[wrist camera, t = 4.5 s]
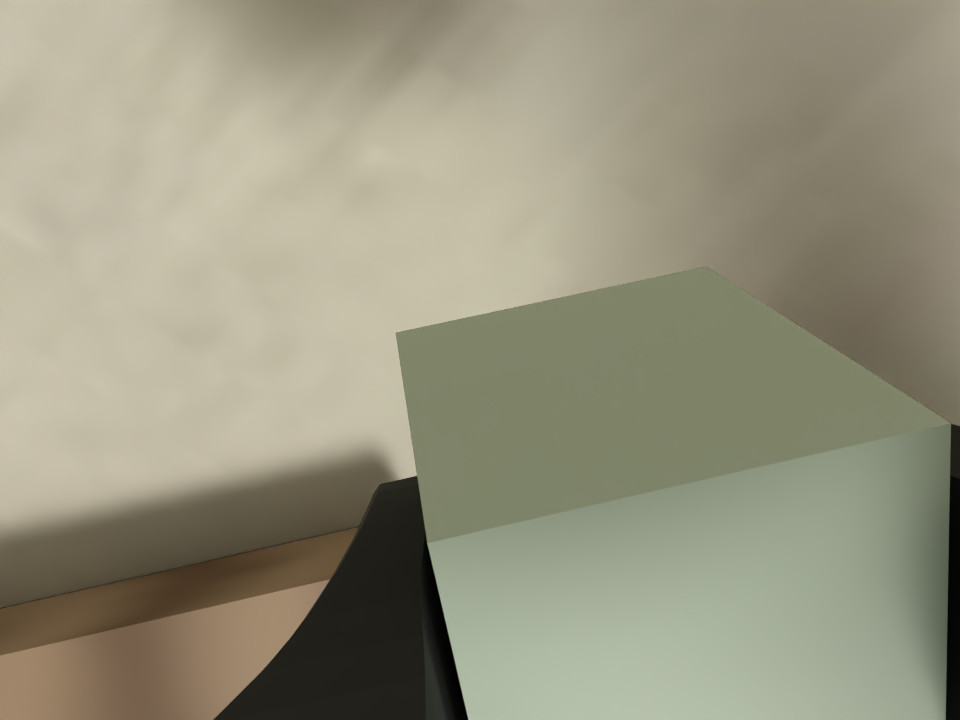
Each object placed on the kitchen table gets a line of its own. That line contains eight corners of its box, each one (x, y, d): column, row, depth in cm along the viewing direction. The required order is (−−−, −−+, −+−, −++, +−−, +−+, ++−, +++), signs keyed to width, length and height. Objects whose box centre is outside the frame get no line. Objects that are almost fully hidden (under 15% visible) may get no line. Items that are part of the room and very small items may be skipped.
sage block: (705, 266, 13) (950, 422, 7) (729, 534, 14) (943, 814, 9) (394, 332, 12) (428, 542, 7) (455, 598, 14) (517, 926, 9)
